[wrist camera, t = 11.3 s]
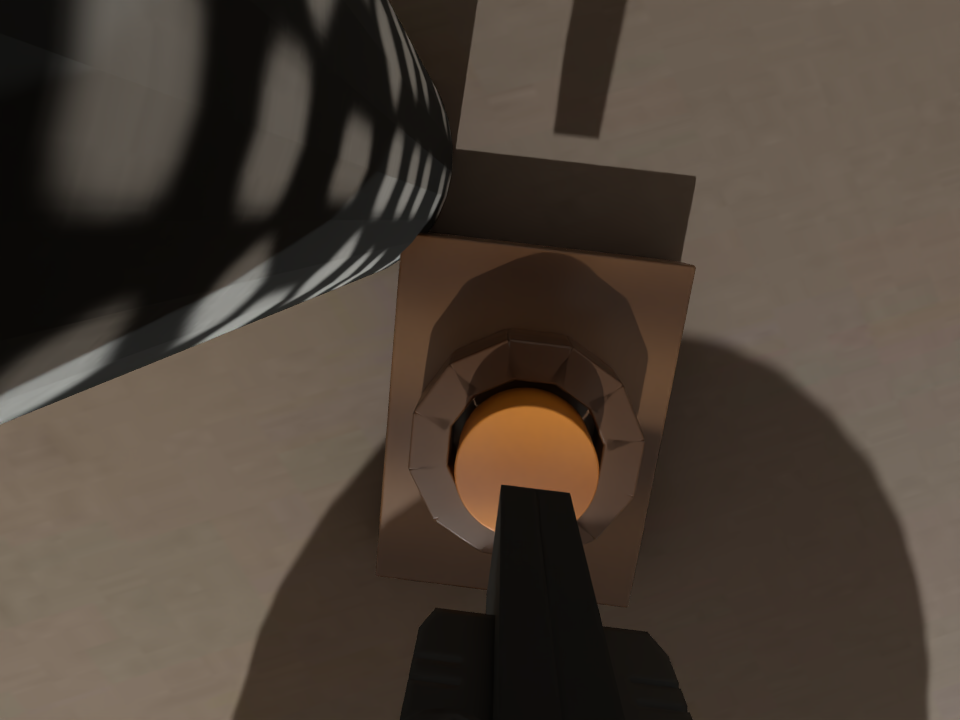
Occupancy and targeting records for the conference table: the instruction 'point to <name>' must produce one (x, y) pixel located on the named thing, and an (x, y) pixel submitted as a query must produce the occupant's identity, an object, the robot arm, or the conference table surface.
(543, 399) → the button
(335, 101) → the spotted tube
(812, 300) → the conference table surface
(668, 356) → the button block
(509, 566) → the robot arm
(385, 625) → the conference table surface
